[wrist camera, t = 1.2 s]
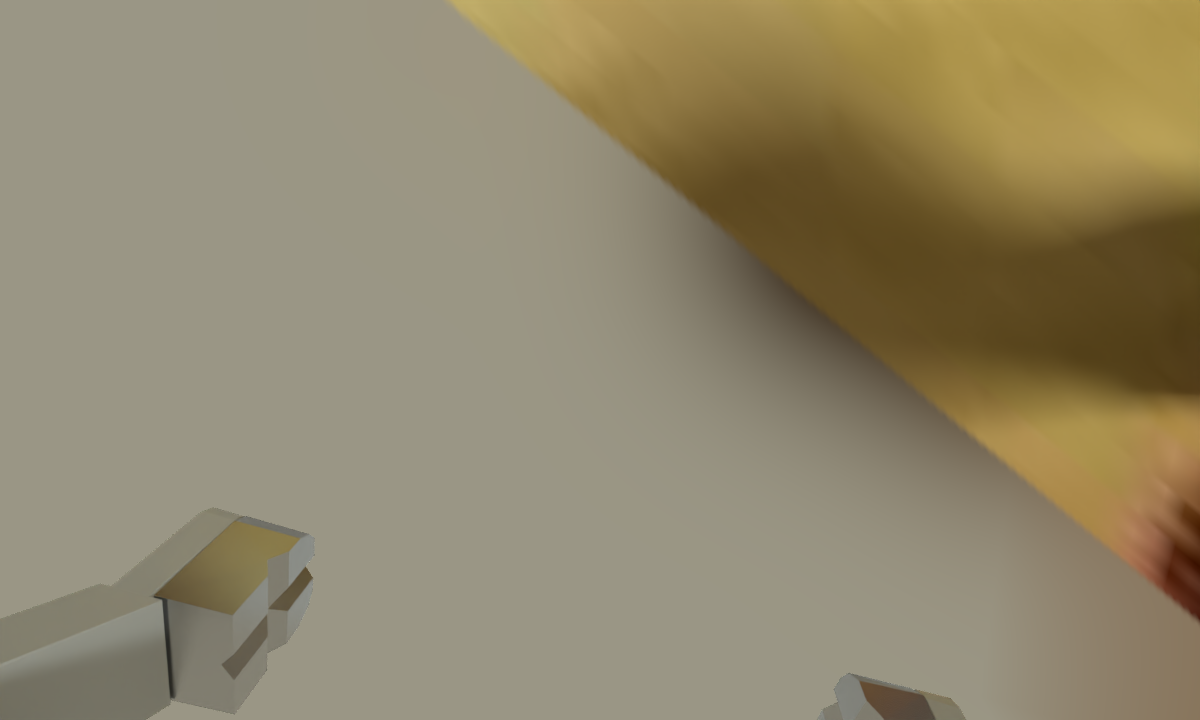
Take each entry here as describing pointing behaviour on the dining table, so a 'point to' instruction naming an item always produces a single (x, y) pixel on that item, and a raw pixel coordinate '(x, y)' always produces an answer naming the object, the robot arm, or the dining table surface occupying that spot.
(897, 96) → the dining table surface
